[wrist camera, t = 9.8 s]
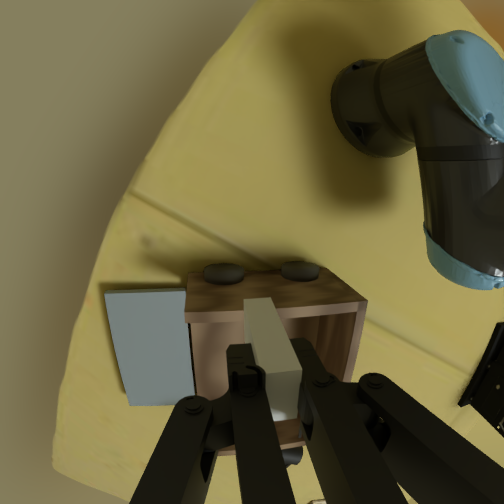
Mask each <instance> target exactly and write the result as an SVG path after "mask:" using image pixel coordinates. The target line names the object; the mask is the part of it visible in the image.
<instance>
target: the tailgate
mask: <svg viewBox="0 0 504 504" xmlns="http://www.w3.org/2000/svg"><path fill="white" fill-rule="evenodd" d="M104 296H105V302H106V308H107V313H108V319H109V324H110V329H111V334H112V339H113V343H114V348H115V352H116V357H117V361H118V365H119V369H120V373H121V377H122V380H123V384H124V388H125V391H126V395H127V398H128V401H129V405H130V406H159V405H176V403H177V402H178V401H179V400H180V399H182V398H184V397H186V396H190V395H195V392H194V384H193V375H192V365H191V355H190V345H189V333H188V323H185V317H184V309H185V299H186V292H185V288H164V289H137V290H106V292H105V293H104Z"/></svg>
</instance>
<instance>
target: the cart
mask: <svg viewBox="0 0 504 504" xmlns="http://www.w3.org/2000/svg"><path fill="white" fill-rule="evenodd" d="M269 297H271V299H272V302H273V304H274V306H275V308H276V311H277V313H278V315H279V318H280V320H281V322H282V324H283V327H284V329H285V331H286V333H287V336H288V338H289V339H293V338H302V337H304V338H305V339H307V340H308V341H310V342H311V344H312V345H313V347H314V350H315V351H316V353H317V355H318V356H319V358H320V360H321V362H322V364H323V365H324V367H325V369H326V371H327V372H329V373H332V374H333V375H335V376H336V377H337V378H338V379H339V381H341V382H351V378H352V374H353V370H354V366H355V362H356V357H357V353H358V349H359V344H360V339H361V334H362V330H363V324H364V319H365V314H366V308H367V303H368V300H366V299H365V298H364V297H363V296H361V295H360V294H359V293H358V292H356V291H355V290H354V289H353V288H351V287H350V286H349V285H348V284H346V283H345V282H344V281H343V280H341V279H340V278H339V277H337V276H336V275H335V274H334V273H332V272H331V271H330V270H329V269H327V268H320V269H319V266H317V265H315V264H313V263H309V262H301V261H292V262H286V263H284V264H282V267H281V270H269V271H244V268H243V267H242V266H239V265H236V264H229V263H220V264H212V265H209V266H207V267H205V268H204V272H200V273H188V281H187V290H186V299H185V309H184V317H185V323H191V335H192V347H193V358H194V368H195V378H196V387H197V395H199V396H202V397H205V398H207V399H208V400H210V401H211V400H214V399H217V398H220V397H221V396H223V395H224V394H225V393H226V392H227V390H228V388H229V385H228V374H227V360H226V350H227V348H228V347H229V345H230V344H245V333H244V299H254V298H269ZM300 419H301V417H300V414H299V411H298V413H297V418H295V419H288V420H281V421H274V424H275V428H276V432H277V436H278V439H279V443H280V447H281V449H287V448H293V447H299V446H304V445H306V443H305V440H304V437H303V434H302V435H301V438H298V433H299V426H300ZM227 455H236V453H235V445H231V446H228V447H225V448H222V449H219V450H218V455H217V456H227Z"/></svg>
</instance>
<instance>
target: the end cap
mask: <svg viewBox="0 0 504 504" xmlns="http://www.w3.org/2000/svg"><path fill="white" fill-rule="evenodd" d="M281 451H282V454H283V458H284V462H285V465H286V468H287V467H289V466H290V465H291V464H294V465H297V464H298V463H299V462H300V461H301V459H302V456H303V447H302V446H299V447H293V448H287V449H281Z"/></svg>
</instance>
